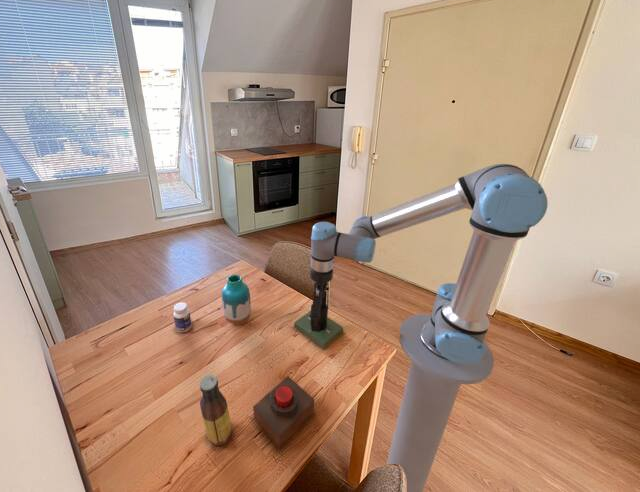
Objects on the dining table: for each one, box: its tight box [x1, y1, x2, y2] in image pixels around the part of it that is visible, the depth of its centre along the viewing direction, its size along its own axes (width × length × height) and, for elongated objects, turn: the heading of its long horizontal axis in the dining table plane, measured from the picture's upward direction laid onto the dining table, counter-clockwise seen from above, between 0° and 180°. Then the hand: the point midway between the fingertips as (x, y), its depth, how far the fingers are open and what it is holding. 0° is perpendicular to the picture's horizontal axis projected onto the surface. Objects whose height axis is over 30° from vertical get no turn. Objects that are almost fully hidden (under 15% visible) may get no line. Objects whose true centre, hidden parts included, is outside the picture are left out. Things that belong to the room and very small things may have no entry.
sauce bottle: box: [199, 374, 232, 446], centre depth 72 cm, size 6×6×20 cm
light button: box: [276, 386, 292, 407], centre depth 76 cm, size 4×4×2 cm
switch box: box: [252, 375, 315, 450], centre depth 78 cm, size 13×10×8 cm
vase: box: [221, 274, 252, 325], centre depth 110 cm, size 11×11×19 cm
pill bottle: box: [172, 301, 192, 333], centre depth 108 cm, size 6×6×10 cm
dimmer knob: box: [310, 303, 329, 331], centre depth 105 cm, size 6×6×8 cm
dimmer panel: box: [293, 310, 344, 350], centre depth 108 cm, size 14×11×3 cm
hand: (319, 317), depth 106 cm, fingers open, 13 cm apart
